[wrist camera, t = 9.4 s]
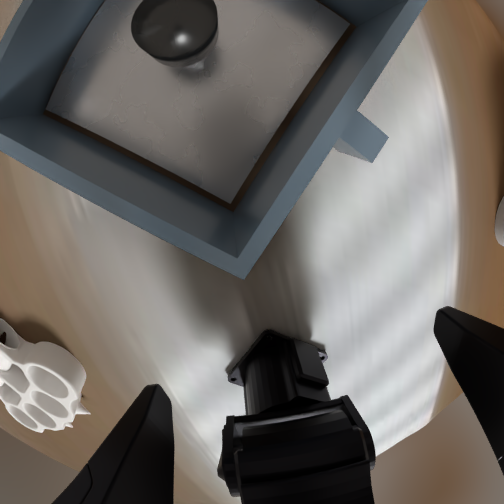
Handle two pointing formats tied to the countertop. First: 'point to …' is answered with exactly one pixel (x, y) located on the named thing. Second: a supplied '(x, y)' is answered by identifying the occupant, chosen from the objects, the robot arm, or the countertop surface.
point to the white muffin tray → (39, 382)
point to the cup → (500, 223)
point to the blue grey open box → (164, 188)
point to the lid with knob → (195, 80)
